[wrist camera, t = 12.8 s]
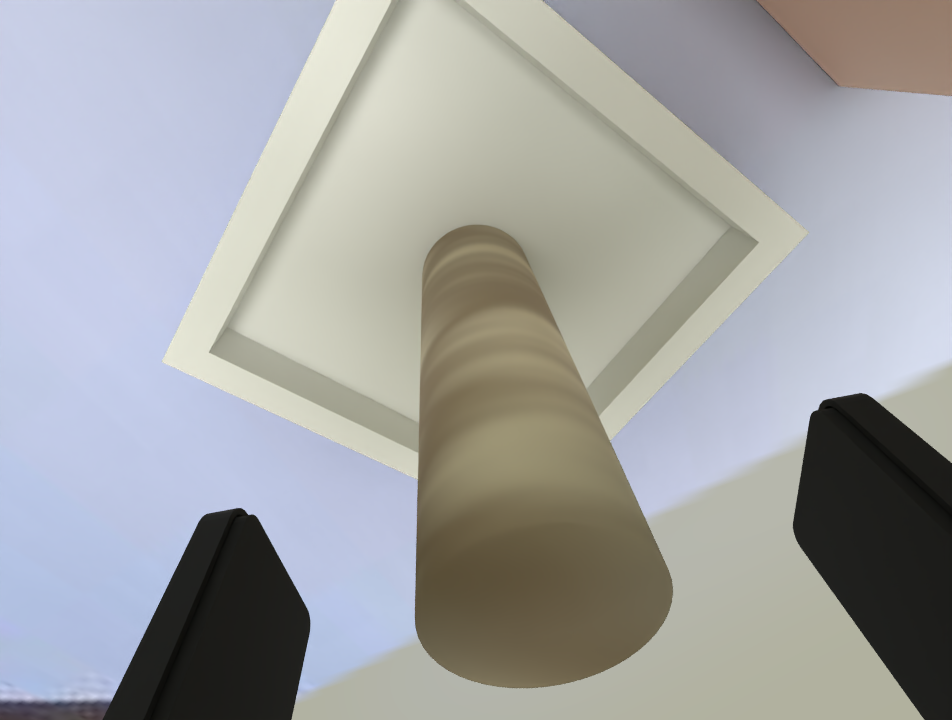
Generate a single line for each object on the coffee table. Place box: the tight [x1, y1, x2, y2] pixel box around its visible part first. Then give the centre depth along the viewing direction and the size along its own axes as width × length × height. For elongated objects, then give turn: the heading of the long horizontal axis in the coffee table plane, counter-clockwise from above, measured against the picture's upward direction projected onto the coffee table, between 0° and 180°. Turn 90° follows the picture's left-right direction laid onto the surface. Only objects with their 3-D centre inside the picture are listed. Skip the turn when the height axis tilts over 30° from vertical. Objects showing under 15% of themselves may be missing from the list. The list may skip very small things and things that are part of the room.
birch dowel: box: [415, 225, 673, 688], centre depth 15 cm, size 4×4×14 cm
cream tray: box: [162, 0, 809, 480], centre depth 20 cm, size 16×16×3 cm
